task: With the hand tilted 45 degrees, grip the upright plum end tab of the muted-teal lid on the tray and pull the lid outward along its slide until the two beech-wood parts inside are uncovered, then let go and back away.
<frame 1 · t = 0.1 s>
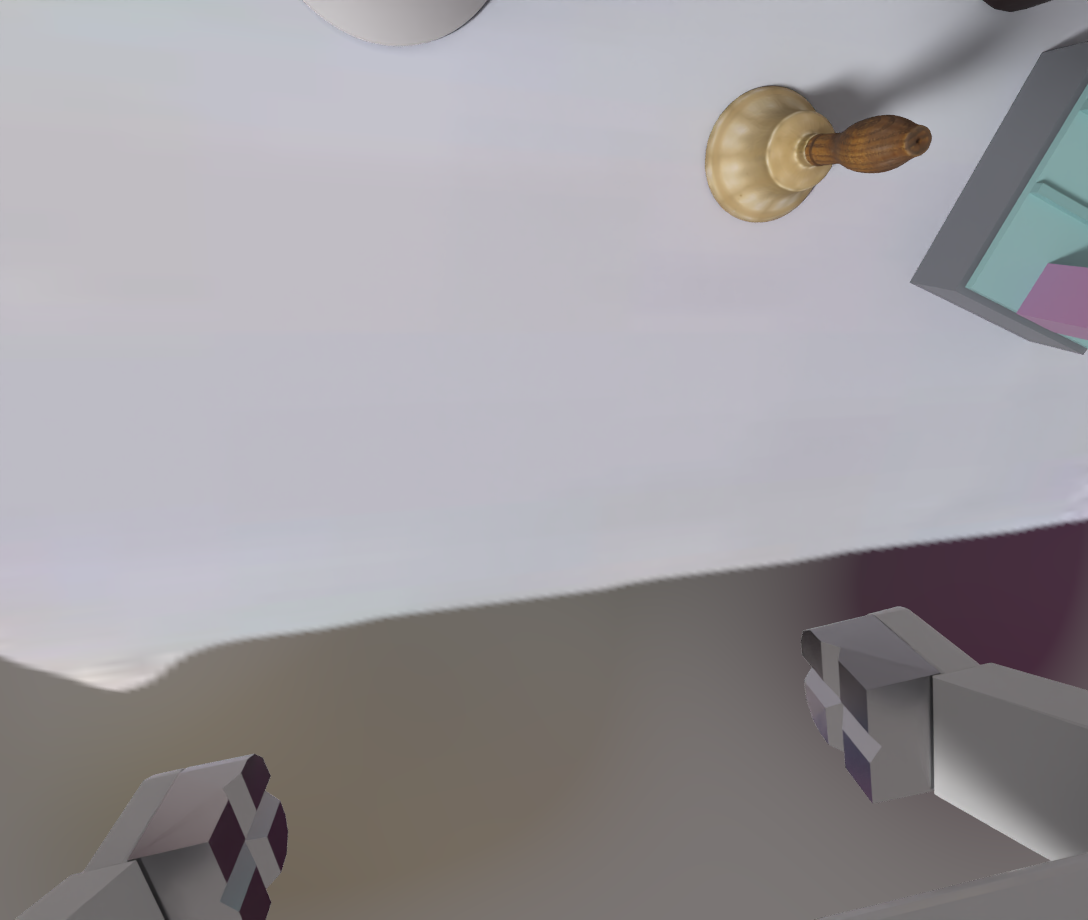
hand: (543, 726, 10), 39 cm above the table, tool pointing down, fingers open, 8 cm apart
hand bell: (762, 156, 44), on the table
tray: (1035, 208, 48), on the table
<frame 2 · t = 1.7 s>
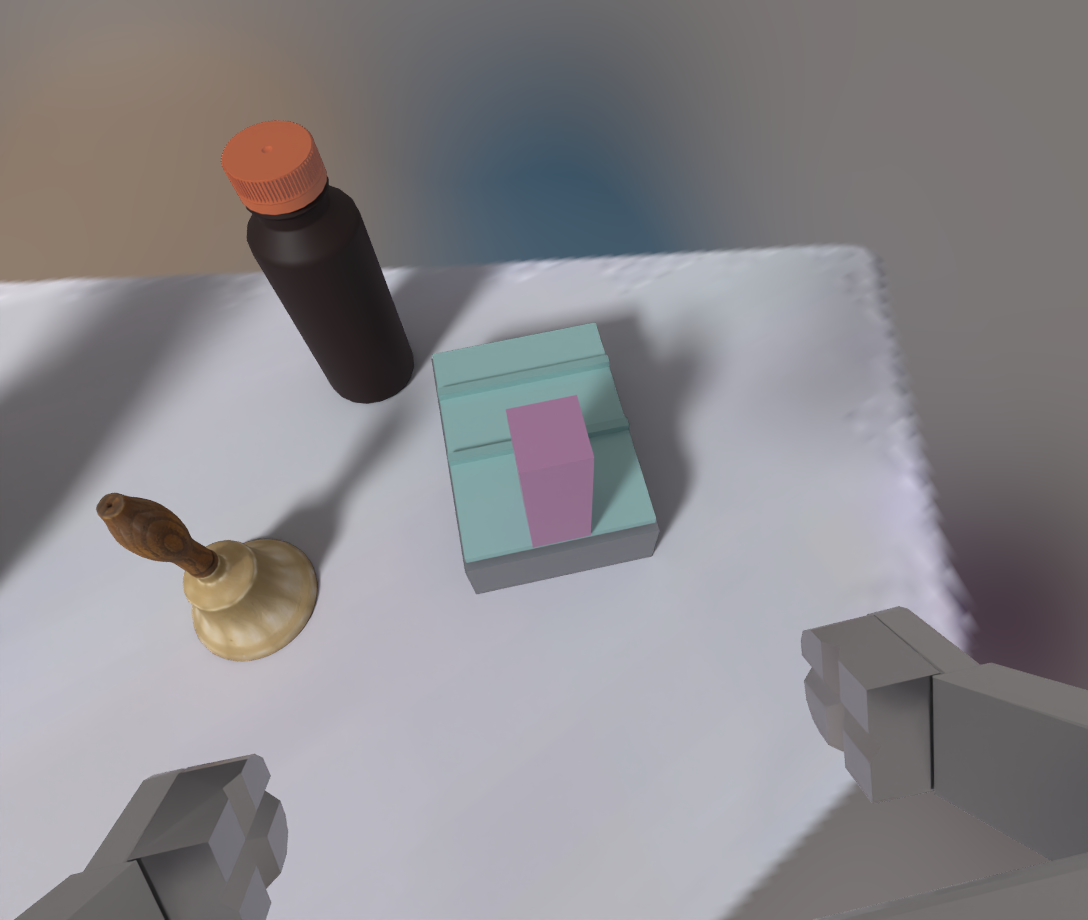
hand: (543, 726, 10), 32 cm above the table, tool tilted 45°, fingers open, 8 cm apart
hand bell: (257, 598, 44), on the table
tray: (540, 470, 48), on the table
lid: (531, 391, 38), point 11 cm above the table, slide at 0.0 cm
bottle: (373, 371, 53), on the table
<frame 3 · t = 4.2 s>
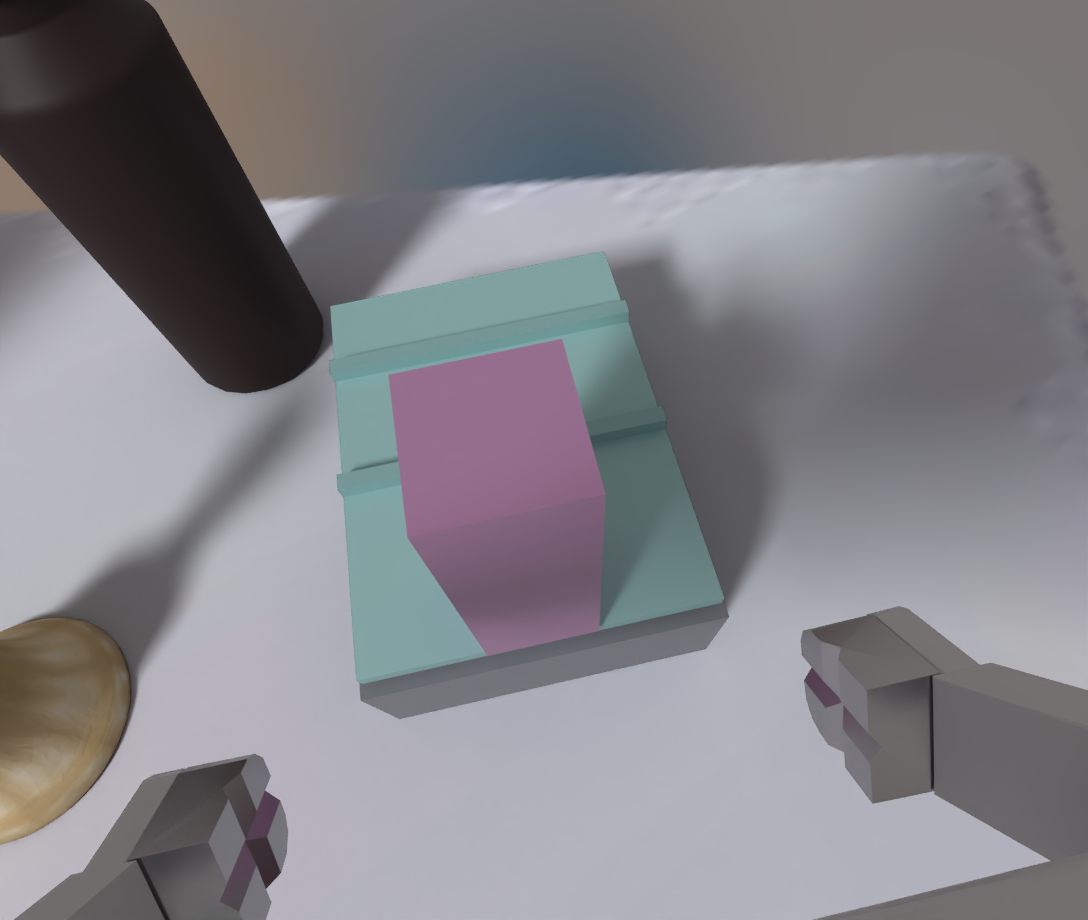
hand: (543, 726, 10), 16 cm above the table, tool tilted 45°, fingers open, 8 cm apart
hand bell: (29, 724, 26), on the table
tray: (515, 498, 29), on the table
lid: (481, 354, 20), point 10 cm above the table, slide at 0.0 cm
bottle: (262, 344, 34), on the table
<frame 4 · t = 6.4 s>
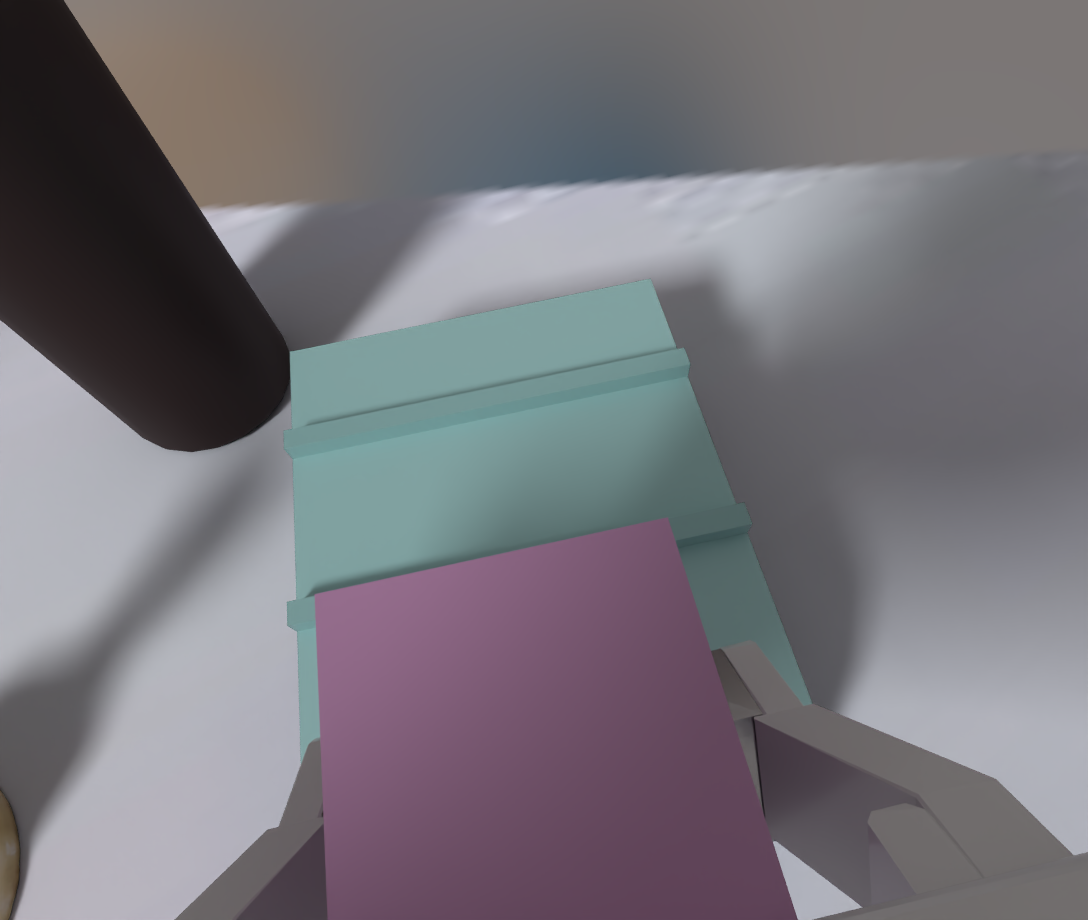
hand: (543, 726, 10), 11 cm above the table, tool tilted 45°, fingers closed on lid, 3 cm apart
lid: (493, 450, 13), point 10 cm above the table, slide at 0.0 cm, touching gripper
bottle: (216, 387, 28), on the table
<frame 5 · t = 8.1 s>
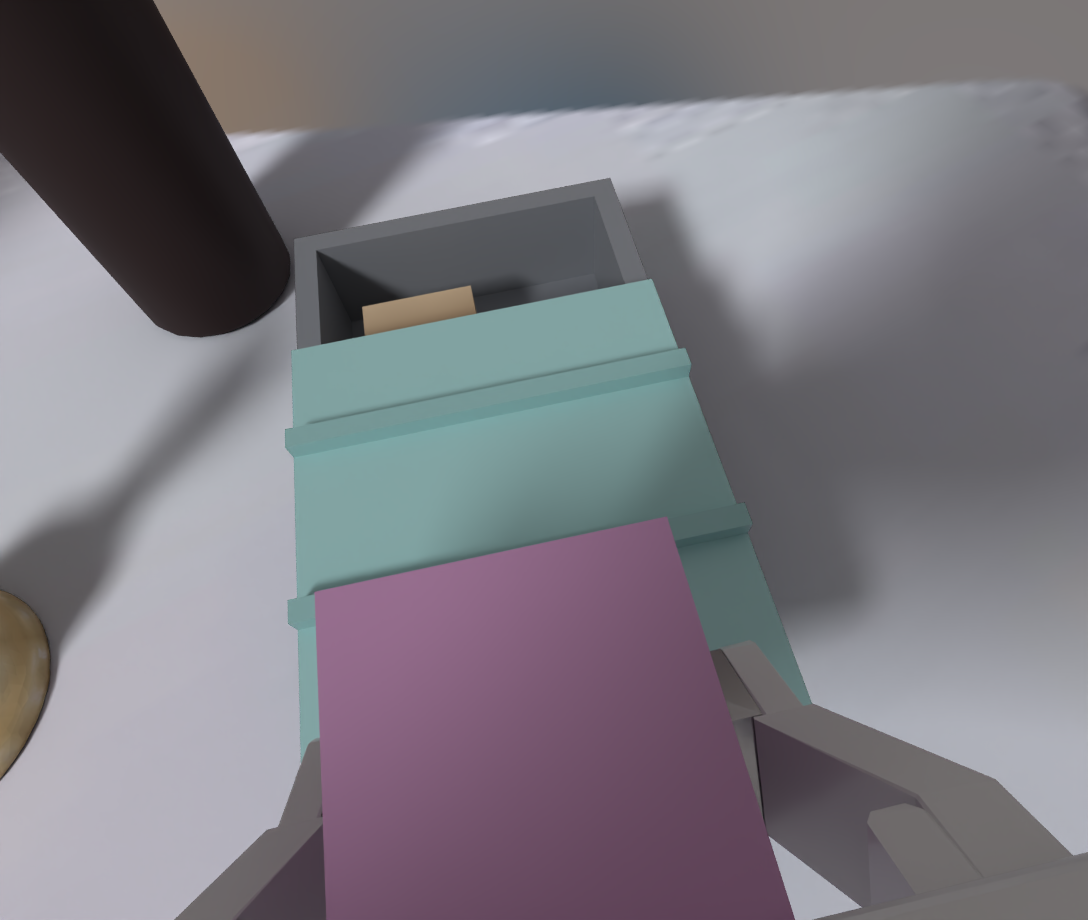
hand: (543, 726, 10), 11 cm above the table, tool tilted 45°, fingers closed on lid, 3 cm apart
part a: (440, 387, 26), point 1 cm above the table, touching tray
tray: (504, 452, 25), on the table
lid: (493, 449, 13), point 10 cm above the table, slide at 5.7 cm, touching gripper
bottle: (222, 286, 30), on the table
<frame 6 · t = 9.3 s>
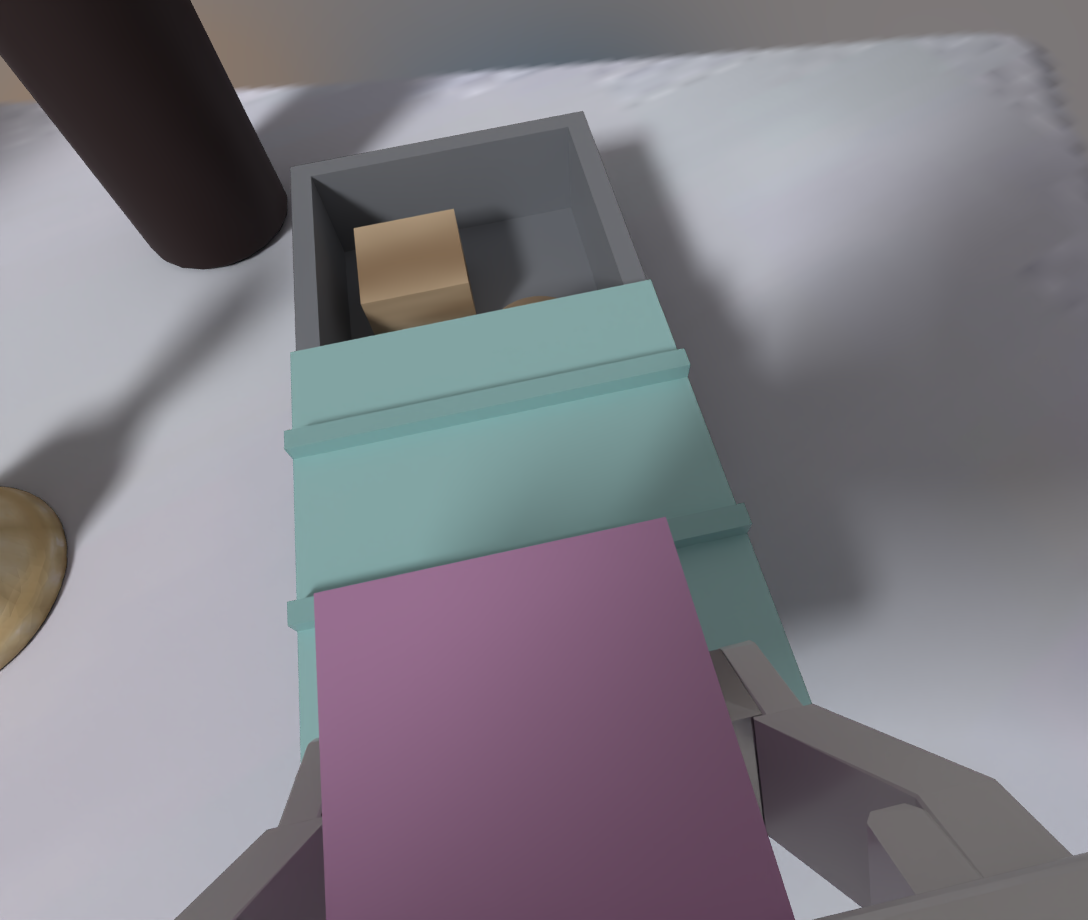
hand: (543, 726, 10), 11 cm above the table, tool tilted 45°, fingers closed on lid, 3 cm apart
part a: (426, 307, 28), point 1 cm above the table, touching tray
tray: (486, 366, 27), on the table
lid: (492, 450, 13), point 11 cm above the table, slide at 9.9 cm, touching gripper
bottle: (224, 225, 32), on the table
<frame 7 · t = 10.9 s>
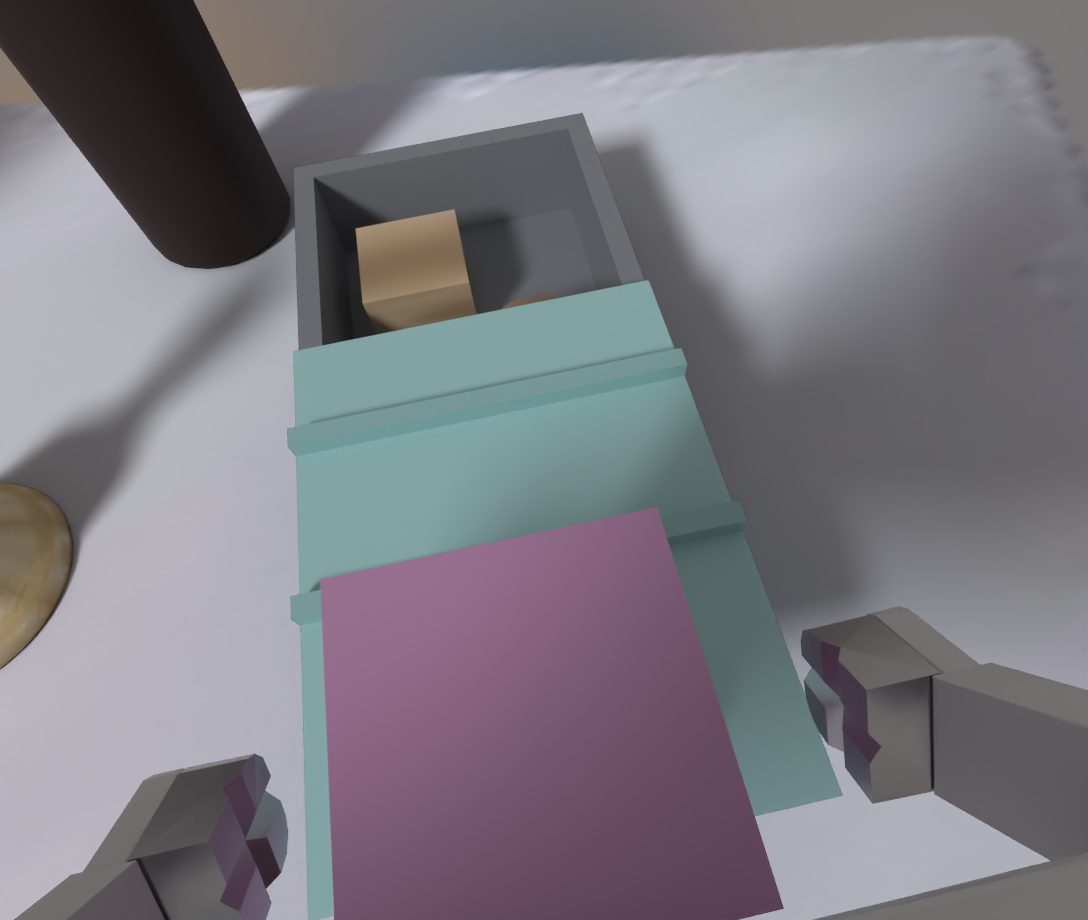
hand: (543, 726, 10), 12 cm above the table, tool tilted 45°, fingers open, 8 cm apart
part a: (427, 307, 28), point 1 cm above the table, touching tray
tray: (486, 365, 27), on the table
lid: (492, 447, 13), point 10 cm above the table, slide at 9.9 cm
bottle: (227, 225, 33), on the table
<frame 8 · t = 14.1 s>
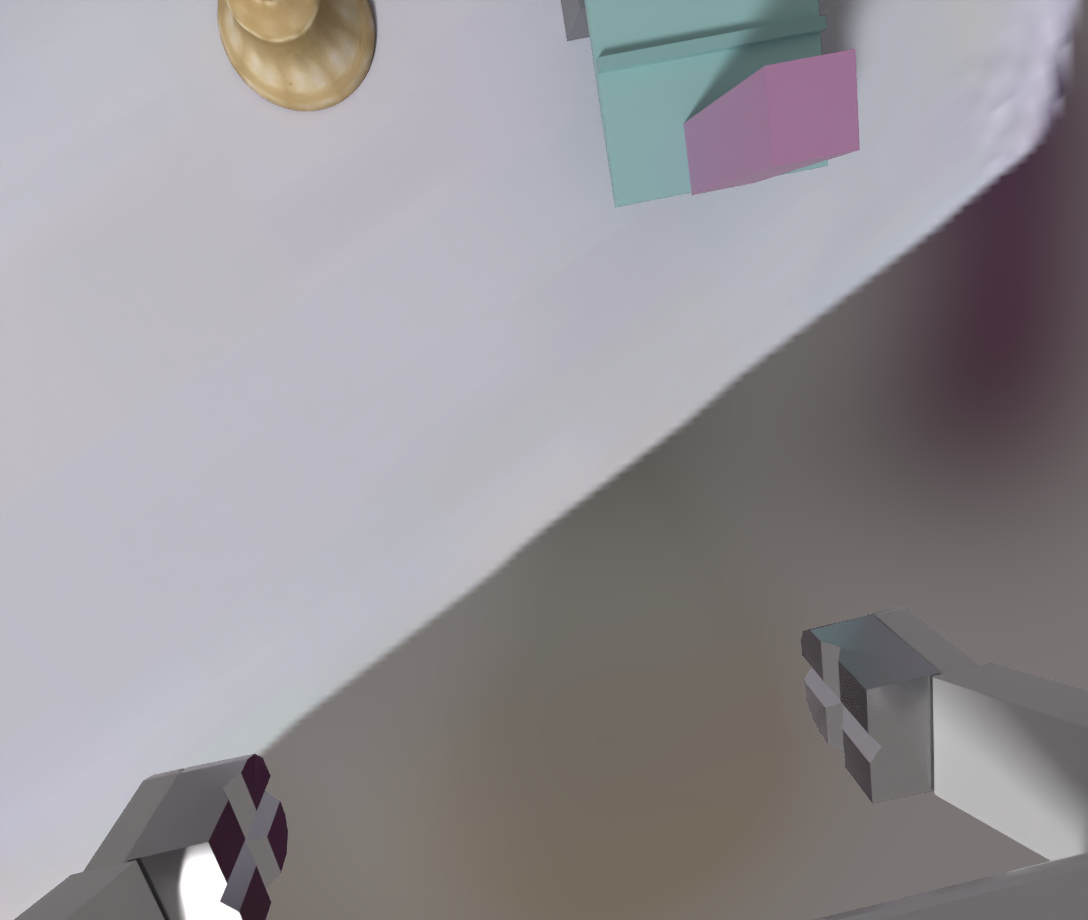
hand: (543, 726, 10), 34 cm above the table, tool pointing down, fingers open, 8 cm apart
hand bell: (299, 29, 36), on the table
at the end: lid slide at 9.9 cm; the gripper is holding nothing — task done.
